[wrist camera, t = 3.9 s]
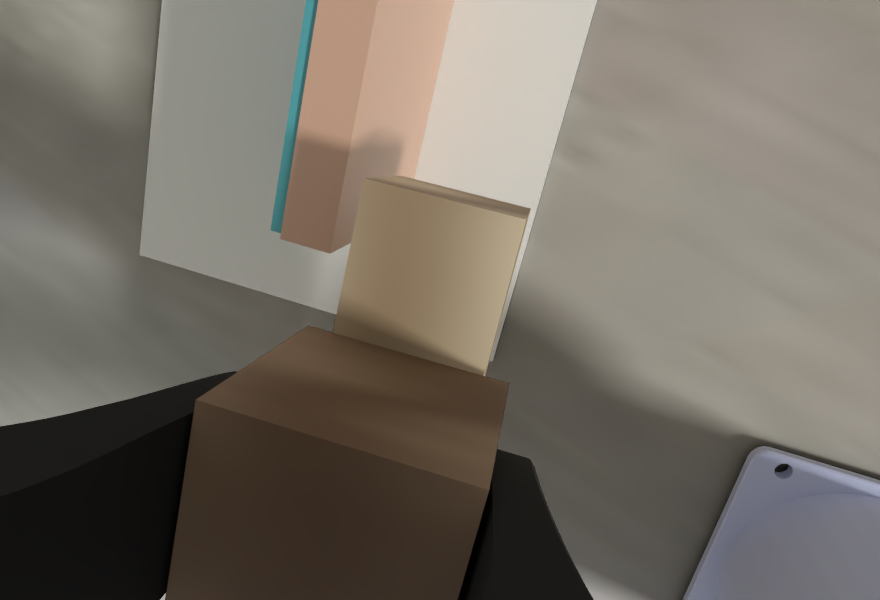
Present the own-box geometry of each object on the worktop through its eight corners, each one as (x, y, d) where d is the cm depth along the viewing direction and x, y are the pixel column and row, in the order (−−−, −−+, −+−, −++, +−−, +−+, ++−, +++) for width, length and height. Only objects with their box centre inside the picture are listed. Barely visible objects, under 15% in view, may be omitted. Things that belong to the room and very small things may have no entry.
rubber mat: (656, -204, 16) (657, -208, 16) (493, 359, 21) (492, 362, 21) (192, -289, 18) (188, -294, 17) (143, 253, 22) (139, 254, 22)
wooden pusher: (552, 214, 14) (555, 259, 7) (446, 591, 16) (373, 892, 10) (381, 170, 14) (230, 173, 8) (302, 543, 17) (134, 799, 10)
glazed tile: (468, -65, 17) (408, -166, 11) (406, 213, 20) (329, 253, 14) (417, -76, 18) (331, -181, 12) (362, 201, 20) (267, 235, 14)
